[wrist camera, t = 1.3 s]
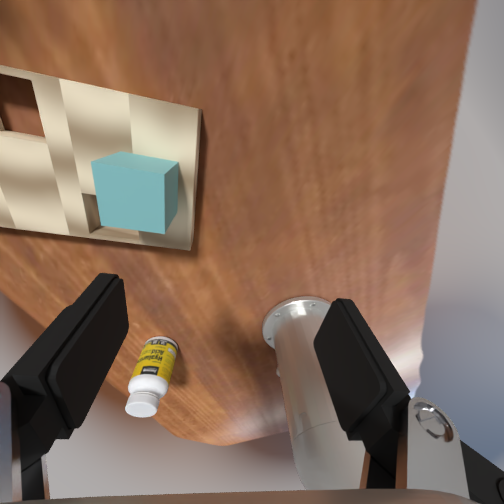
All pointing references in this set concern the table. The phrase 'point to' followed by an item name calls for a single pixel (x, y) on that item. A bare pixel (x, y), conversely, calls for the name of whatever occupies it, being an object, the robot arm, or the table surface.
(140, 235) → the box
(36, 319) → the table surface
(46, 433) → the robot arm
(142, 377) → the supplement bottle
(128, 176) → the block
